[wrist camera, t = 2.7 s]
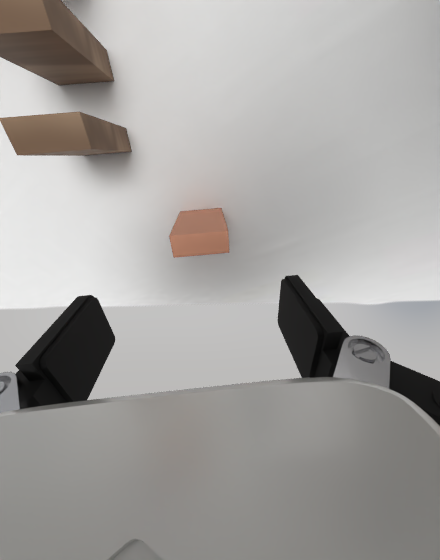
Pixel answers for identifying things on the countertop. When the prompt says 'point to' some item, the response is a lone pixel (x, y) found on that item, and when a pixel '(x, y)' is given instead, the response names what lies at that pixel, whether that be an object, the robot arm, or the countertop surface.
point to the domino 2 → (65, 135)
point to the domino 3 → (199, 233)
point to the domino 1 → (51, 42)
